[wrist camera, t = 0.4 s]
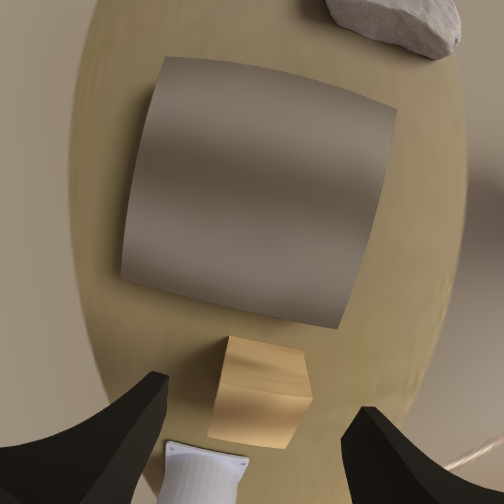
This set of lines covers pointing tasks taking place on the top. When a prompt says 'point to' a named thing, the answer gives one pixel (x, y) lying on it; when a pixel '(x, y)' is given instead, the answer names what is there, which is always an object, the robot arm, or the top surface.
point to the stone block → (403, 23)
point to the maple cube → (260, 394)
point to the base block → (255, 189)
